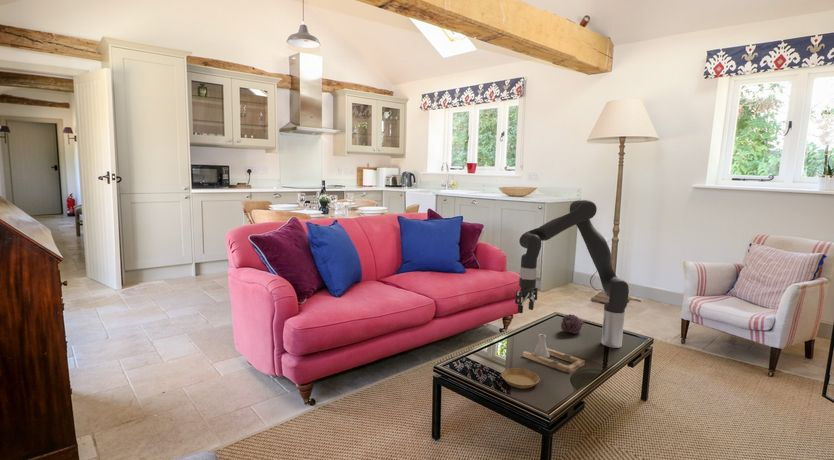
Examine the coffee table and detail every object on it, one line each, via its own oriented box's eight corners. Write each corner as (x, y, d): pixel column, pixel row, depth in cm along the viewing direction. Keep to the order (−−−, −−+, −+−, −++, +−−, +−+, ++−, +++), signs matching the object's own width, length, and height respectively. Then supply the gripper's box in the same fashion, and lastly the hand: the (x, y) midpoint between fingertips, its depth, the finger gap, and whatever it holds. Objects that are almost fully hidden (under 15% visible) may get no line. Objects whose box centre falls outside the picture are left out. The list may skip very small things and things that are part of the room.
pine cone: (569, 339, 224) (570, 320, 223) (552, 333, 232) (553, 315, 231) (588, 332, 235) (589, 314, 234) (571, 327, 243) (573, 309, 242)
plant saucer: (546, 383, 177) (546, 376, 177) (526, 395, 167) (526, 388, 166) (514, 370, 187) (514, 364, 187) (493, 381, 177) (494, 375, 177)
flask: (540, 360, 198) (541, 339, 196) (529, 354, 204) (530, 333, 203) (552, 358, 201) (554, 336, 200) (541, 352, 207) (542, 331, 206)
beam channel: (538, 349, 211) (538, 344, 211) (584, 364, 194) (584, 359, 194) (522, 356, 202) (522, 351, 202) (569, 373, 185) (570, 368, 185)
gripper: (529, 273, 211) (527, 306, 213) (511, 277, 202) (509, 312, 204) (543, 276, 206) (541, 310, 208) (525, 280, 196) (523, 316, 198)
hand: (525, 311), depth 206 cm, fingers open, 8 cm apart
